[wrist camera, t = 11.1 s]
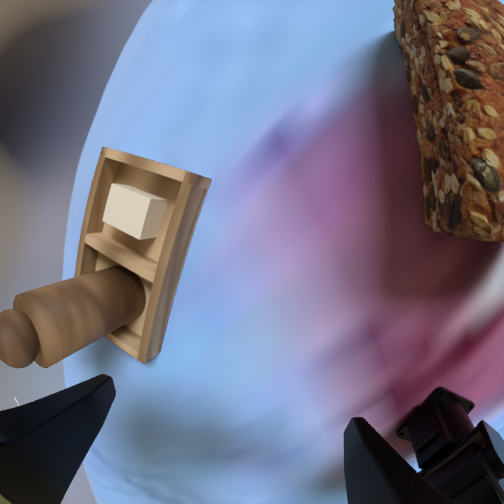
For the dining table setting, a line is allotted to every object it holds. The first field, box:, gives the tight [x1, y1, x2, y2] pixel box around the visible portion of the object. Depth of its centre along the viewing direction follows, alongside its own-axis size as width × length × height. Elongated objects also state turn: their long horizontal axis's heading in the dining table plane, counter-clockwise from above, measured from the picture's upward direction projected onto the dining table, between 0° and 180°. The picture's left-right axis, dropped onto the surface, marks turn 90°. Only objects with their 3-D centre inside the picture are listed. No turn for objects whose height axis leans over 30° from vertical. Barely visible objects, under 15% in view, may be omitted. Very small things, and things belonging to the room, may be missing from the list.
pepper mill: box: [0, 265, 146, 368], centre depth 16 cm, size 5×5×14 cm
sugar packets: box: [102, 183, 168, 240], centre depth 20 cm, size 4×3×2 cm
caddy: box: [75, 147, 212, 364], centre depth 22 cm, size 10×16×3 cm, turn 159°
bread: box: [393, 0, 504, 242], centre depth 10 cm, size 19×11×10 cm, turn 0°
